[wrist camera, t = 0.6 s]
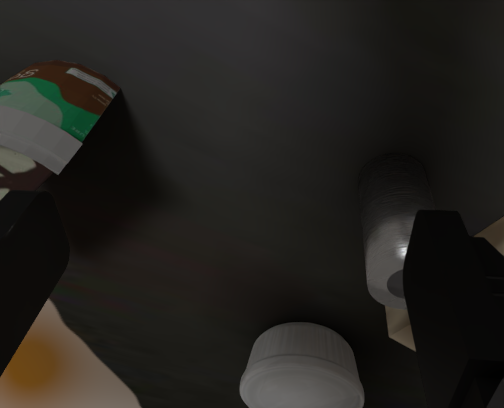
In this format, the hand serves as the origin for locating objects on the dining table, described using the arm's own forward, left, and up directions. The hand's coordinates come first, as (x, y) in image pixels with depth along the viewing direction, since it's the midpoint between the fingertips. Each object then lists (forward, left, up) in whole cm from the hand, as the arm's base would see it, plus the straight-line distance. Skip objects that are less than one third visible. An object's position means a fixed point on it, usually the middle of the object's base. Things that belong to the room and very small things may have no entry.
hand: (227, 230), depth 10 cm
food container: (+14, -9, -19) cm, 25 cm away
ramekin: (+25, +21, -19) cm, 38 cm away
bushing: (+5, +13, -18) cm, 23 cm away
